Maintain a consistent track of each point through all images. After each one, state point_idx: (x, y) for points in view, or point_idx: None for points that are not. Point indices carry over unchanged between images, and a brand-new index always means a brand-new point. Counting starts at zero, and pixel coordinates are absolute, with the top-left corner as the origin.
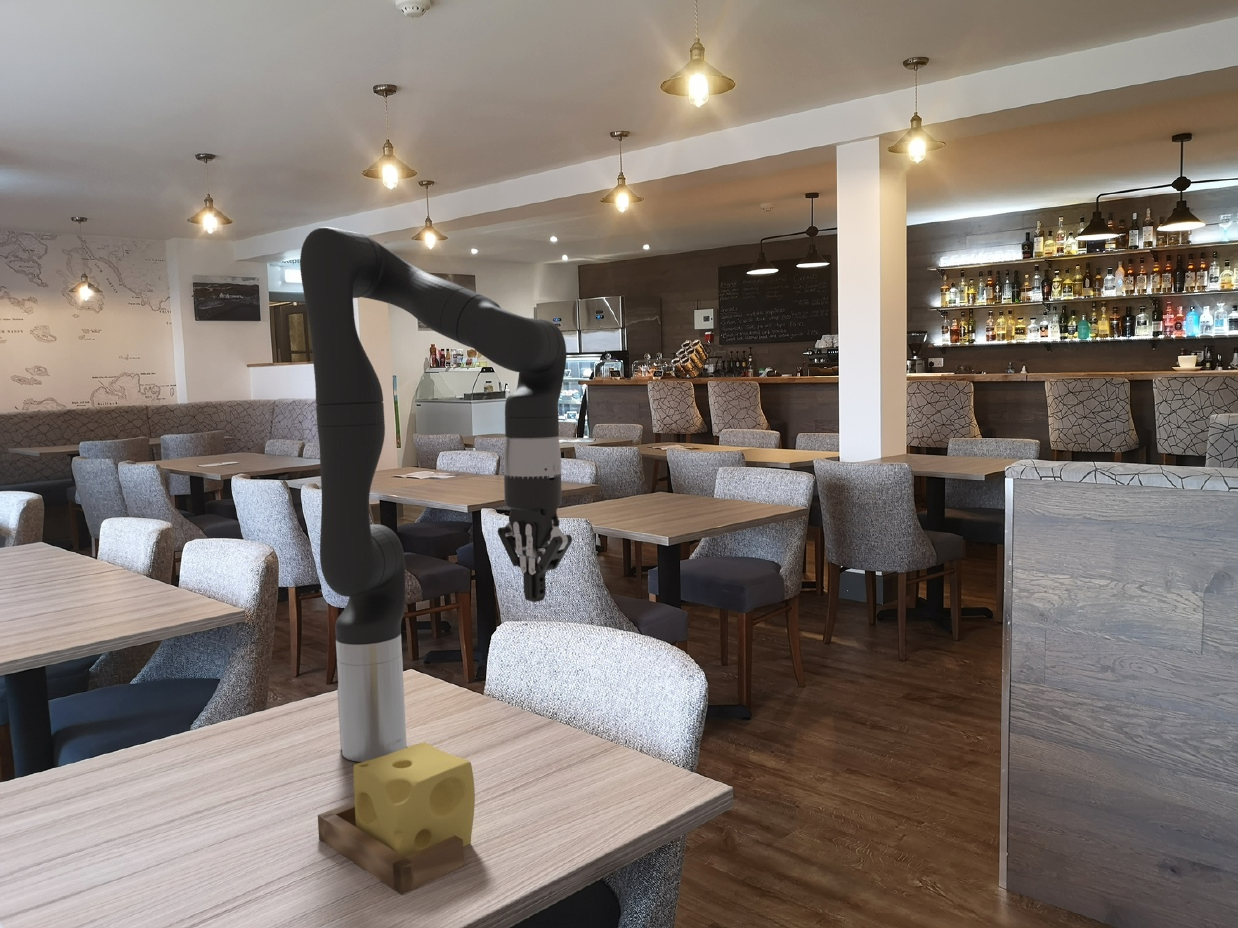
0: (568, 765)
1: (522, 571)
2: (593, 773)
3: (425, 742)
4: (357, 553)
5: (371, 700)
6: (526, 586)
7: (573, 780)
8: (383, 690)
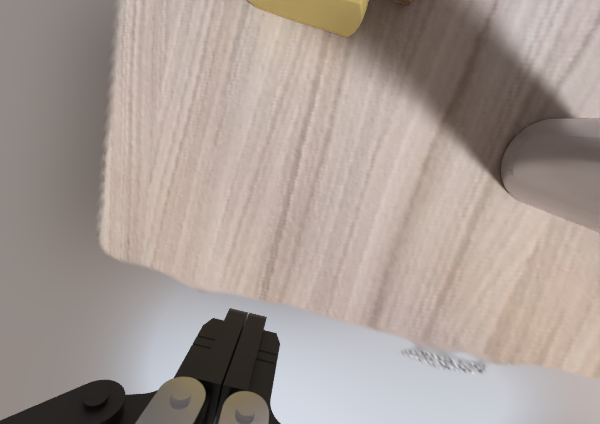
0: (280, 234)
1: (257, 398)
2: (241, 228)
3: (358, 2)
4: None
5: (591, 136)
6: (248, 345)
7: (250, 203)
8: (586, 156)
